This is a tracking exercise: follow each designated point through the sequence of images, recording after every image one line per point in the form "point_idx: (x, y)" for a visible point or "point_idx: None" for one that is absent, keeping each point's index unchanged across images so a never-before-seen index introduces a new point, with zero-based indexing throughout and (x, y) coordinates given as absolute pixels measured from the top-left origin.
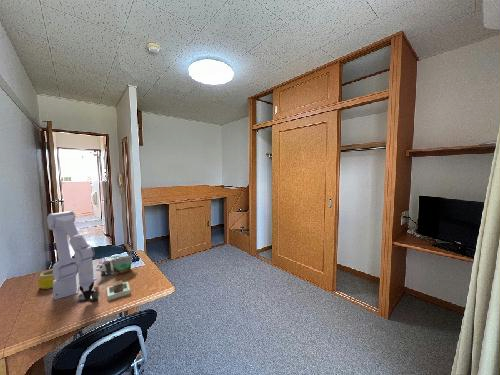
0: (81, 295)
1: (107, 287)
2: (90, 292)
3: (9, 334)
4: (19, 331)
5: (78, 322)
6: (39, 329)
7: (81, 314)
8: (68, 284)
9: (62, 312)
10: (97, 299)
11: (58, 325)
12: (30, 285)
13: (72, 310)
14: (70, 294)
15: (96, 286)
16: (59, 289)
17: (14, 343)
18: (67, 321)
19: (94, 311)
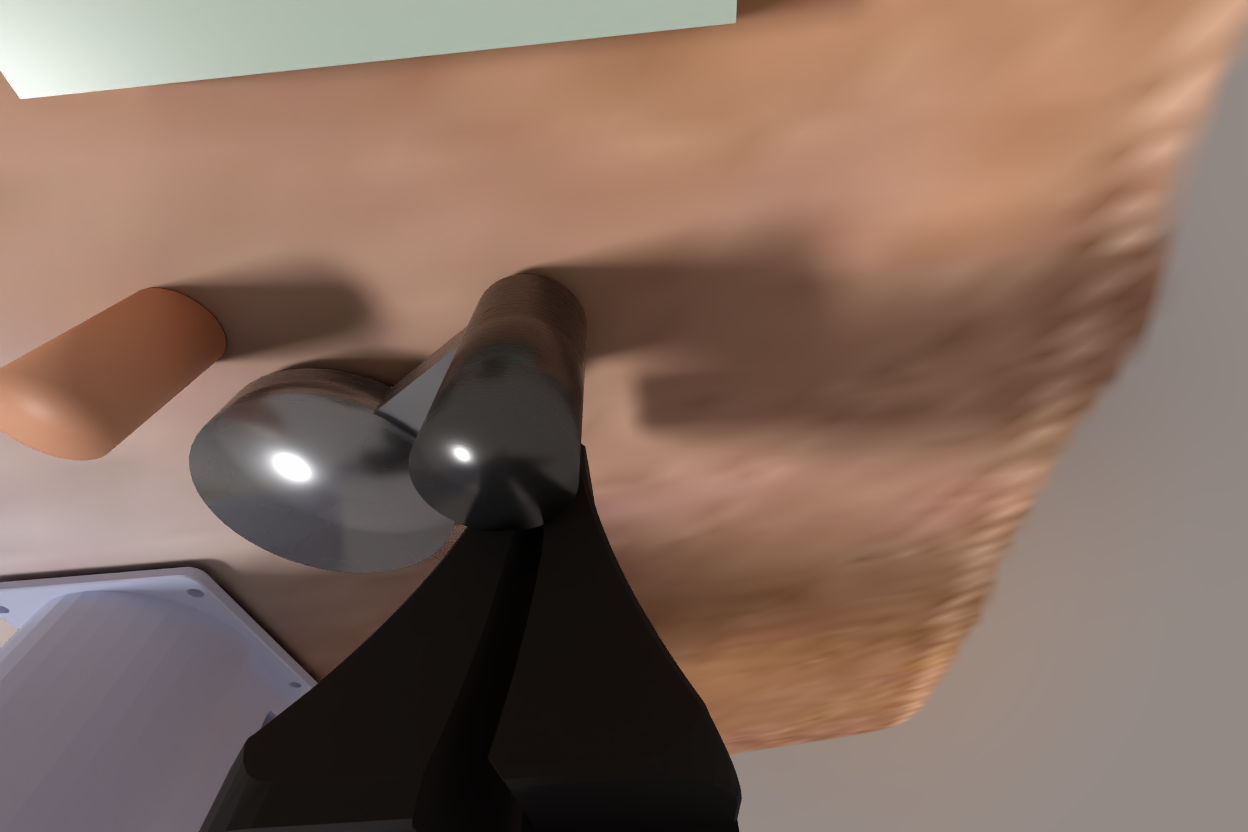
0: (351, 546)
1: (22, 73)
2: (608, 550)
3: (744, 743)
4: (749, 724)
5: (1048, 449)
6: (830, 663)
7: (864, 446)
8: (120, 812)
9: (645, 600)
10: (561, 291)
11: (899, 585)
12: None
13: (666, 539)
14: (233, 620)
15: (60, 414)
16: (216, 785)
17: (890, 712)
18: (895, 540)
19: (949, 291)
